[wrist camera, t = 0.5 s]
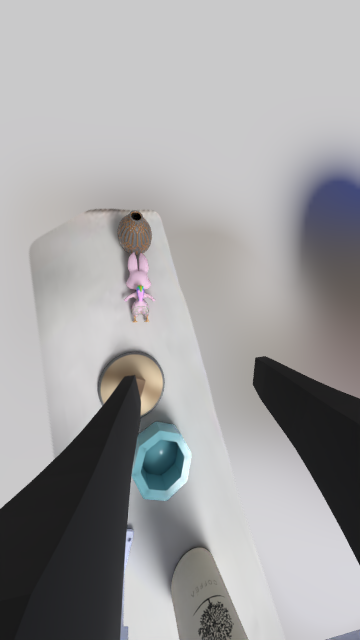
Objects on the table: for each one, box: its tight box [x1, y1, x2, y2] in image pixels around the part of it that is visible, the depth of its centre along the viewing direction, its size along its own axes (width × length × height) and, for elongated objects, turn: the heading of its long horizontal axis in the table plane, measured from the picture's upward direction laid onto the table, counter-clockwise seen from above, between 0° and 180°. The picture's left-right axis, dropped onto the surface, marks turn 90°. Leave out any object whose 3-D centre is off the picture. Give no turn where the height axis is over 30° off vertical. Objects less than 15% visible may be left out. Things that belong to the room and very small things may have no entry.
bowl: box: [132, 421, 192, 501], centre depth 28 cm, size 9×9×4 cm
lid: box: [101, 354, 163, 415], centre depth 29 cm, size 11×11×5 cm
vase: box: [118, 211, 152, 255], centre depth 34 cm, size 7×7×9 cm
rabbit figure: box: [124, 252, 155, 322], centre depth 34 cm, size 6×6×15 cm
